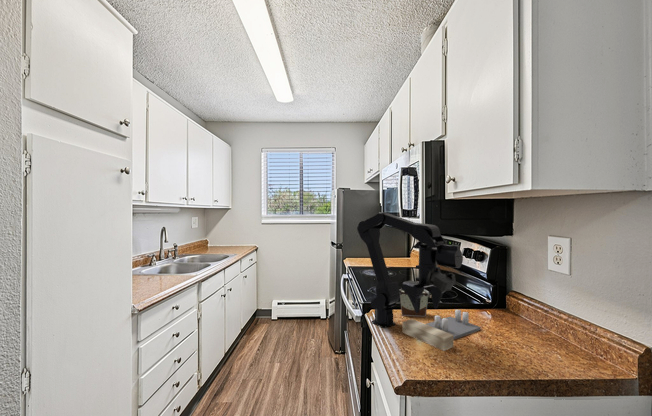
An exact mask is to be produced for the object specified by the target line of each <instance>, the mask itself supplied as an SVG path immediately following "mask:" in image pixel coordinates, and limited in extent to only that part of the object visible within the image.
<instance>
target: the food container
mask: <svg viewBox="0 0 652 416" xmlns="http://www.w3.org/2000/svg"><path fill="white" fill-rule="evenodd" d="M399 290H400V292H401V293H400V298H399V301H400V311H401V312H400V313H401V316H403V317H404V316H406V317H407V316H408V317H427V311H428V301H429V298H430V297H431V296H430V294H431V293H430V291H428V290H427V289H426V288H424V291H423V293H422V294H424V295H423V296H422V297H421V301H420V311H419V313H416V312H415V310H414V307H413V305H412V303H411V301H410V299H409V297H408V295H407V293H405V292H404V291H402V290H401V288H399Z"/></svg>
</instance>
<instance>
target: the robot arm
mask: <svg viewBox="0 0 652 416" xmlns="http://www.w3.org/2000/svg"><path fill="white" fill-rule="evenodd" d="M385 226H388V227H391V228H394V229H396V230H399V231H402V232H405V233H407V234H409V235H410V237H412V238H413V239H415V240H417V242H416V243H415V244H414V245H413V246H412V248H413V249H416V250H417V249H418V264H416V265H415V269H417V270H418V271H417V272H418V275H417V277H415V281H413V280H407V281H403V282H402V283H401V288H399V283H398V282H397V281H393V280H392V279H391V278H390V274H389V271H388V268H387V264H386V262H385V257H384V254H383V251H382V248H381V244H380V237H381V236H380V235H381V230H382V229H383V228H385ZM356 229H357V233H358V235H359V237H360V239H361V241H363V243H364V244H365V245H366V247H367V251H368V256H369V259H370V262H371V265H372V269H373V271H374V272H373V273H374V276H375V279H376V285H375V295H376V297H374V298H373V299H372V300H371V301H370V306H371V308H372V309H374V319H373V320H371V323H373V324H374V325H377V326H379V327H380V328H383V329H384V328H388V327H391V326H392V327H393V326H394V325H396V322H395V321H394V310H393V308H392V307H396V305H397V303H398V302H399V301H400V293H401V292H400V289H401V290H402V291H404V292H405V293H407V295H408V297H409V299H410V301H411V303H412V305H413V307H414V310H415V312H416V313H419V311H420V301H421V297H422V296H423V295H424V294H422V293H423V291H424V289H427V288H429V289H430V294H431V300H432V305H433V308H434V309H438V308H439V305H440V302H441V300H442V297H443V295H444V293H445V292H447V291H451V290H452V288H453V286H456V285H457V283H456V281H457V280H456V274H454V273H453V272H449V273H443V272H442V271H441V267H440V266H442V267H450V268H455V269H460V268H461V267H462V265H463V261H464V256H463V252H462V250H461V246H460V245H451V244H447V242H446V241H445V239H444V237H443V236H442V234H441V230H440V228H439V227H438V226H437V225H435V224H430V223H429V224H428V223H421V222H420V223H419V222H414V221H412V220H408V219H405V218H402V217H400V216H397V215H394V214H391V213H389V212H382V211H381V212H378V213H376V214H375V215H373V216H371V217H369V218H367V219H365V220H361V221H360V222H359V223H358V225H357V227H356ZM438 265H439V266H438Z"/></svg>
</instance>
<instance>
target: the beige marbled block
mask: <svg viewBox="0 0 652 416" xmlns="http://www.w3.org/2000/svg"><path fill="white" fill-rule="evenodd" d="M426 324H427V323H423V322H421V321H418V320H416V319H413V318H411V319H408V320H405V321H402V327H401V328H402V330H401V331H402V334H404V335H408V336H409V337H411V338H414V339H416V340H418V341H421V342H423V343H425V344H428V345H429V346H431V347H434V348H436V349H438V350H441V351H442V352H445V351H447V350H449V349H451V348H454V335H452V334H450V333H447V332H445V331H442V330H439V329H437V328H434V327H432V326H429V325H426Z"/></svg>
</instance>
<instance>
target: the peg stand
mask: <svg viewBox="0 0 652 416" xmlns="http://www.w3.org/2000/svg"><path fill="white" fill-rule="evenodd" d="M454 310H455V311H454V316H448V317H443V318H442V316H440V315H437V314H436V315H434V321H430V322H428V323H425V324H426V325H429V326H432V327H434V328H437V329H439V330H442V331H445V332H447V333H450V334H452V335H454V340H457V339H459V338H462V337H465V336H468V335H470V334H473V333H476V332H478V331H481V329H482V328H481V326H479V325H476V324H473V323H470V322H469V319H470V318H469V317H470V315H469V314H470V313H469V312H468V311H463V312H462V310H460V309H454Z"/></svg>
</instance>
